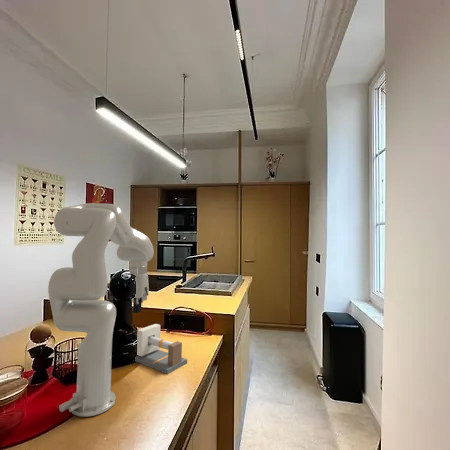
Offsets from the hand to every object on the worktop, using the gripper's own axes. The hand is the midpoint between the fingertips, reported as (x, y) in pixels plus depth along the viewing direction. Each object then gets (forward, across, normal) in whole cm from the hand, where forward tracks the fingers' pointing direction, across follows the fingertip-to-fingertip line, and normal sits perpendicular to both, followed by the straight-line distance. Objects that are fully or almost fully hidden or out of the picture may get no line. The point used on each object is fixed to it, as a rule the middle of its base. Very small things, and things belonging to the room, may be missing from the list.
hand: (137, 312), depth 127 cm
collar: (+15, +8, -1) cm, 17 cm away
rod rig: (+17, +14, -1) cm, 22 cm away
